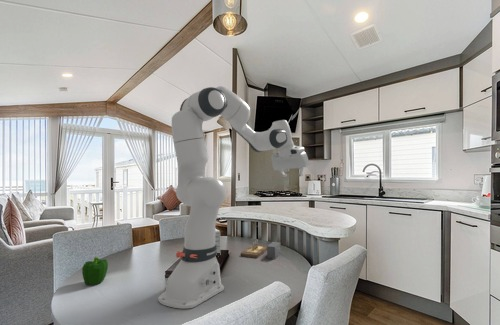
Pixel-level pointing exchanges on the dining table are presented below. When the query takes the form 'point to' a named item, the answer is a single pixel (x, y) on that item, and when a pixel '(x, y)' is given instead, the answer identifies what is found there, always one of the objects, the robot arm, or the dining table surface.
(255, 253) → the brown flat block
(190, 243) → the robot arm
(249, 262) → the dining table surface
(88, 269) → the bell pepper
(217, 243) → the supplement box
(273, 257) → the block
